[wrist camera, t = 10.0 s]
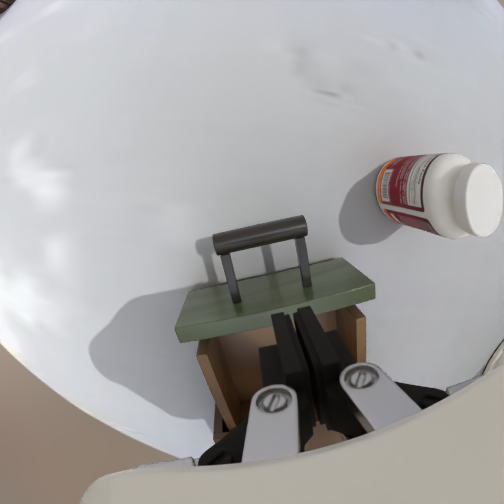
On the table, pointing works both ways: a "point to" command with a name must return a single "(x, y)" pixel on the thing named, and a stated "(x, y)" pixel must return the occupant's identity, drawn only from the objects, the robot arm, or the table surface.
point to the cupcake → (5, 4)
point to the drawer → (267, 312)
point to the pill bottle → (441, 194)
